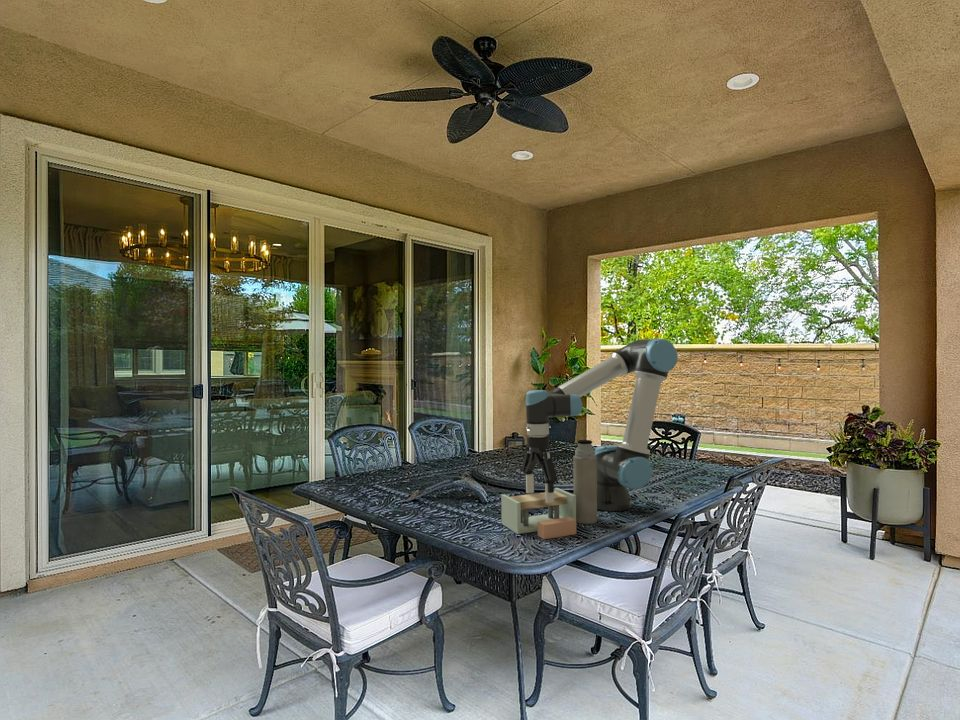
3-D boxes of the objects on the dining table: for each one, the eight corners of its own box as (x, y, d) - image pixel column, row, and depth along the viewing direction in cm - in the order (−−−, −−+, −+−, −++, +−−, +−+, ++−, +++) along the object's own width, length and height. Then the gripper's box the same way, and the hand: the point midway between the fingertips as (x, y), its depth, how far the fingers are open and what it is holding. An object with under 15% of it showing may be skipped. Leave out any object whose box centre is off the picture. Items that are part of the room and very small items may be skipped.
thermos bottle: (571, 517, 194) (571, 438, 193) (593, 516, 194) (593, 438, 194) (576, 524, 186) (575, 442, 185) (599, 523, 186) (598, 442, 186)
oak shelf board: (555, 498, 193) (554, 491, 193) (567, 503, 186) (567, 496, 186) (509, 504, 186) (509, 496, 186) (520, 510, 178) (520, 502, 178)
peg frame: (557, 515, 196) (557, 487, 196) (576, 524, 185) (575, 495, 185) (501, 523, 187) (501, 494, 187) (517, 534, 176) (517, 503, 176)
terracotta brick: (569, 530, 179) (569, 516, 179) (576, 534, 175) (576, 520, 175) (537, 535, 174) (537, 521, 174) (543, 539, 171) (543, 525, 171)
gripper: (511, 431, 196) (513, 490, 196) (546, 441, 173) (548, 507, 173) (530, 430, 198) (531, 487, 199) (567, 439, 176) (568, 504, 176)
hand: (539, 497), depth 186 cm, fingers open, 13 cm apart
